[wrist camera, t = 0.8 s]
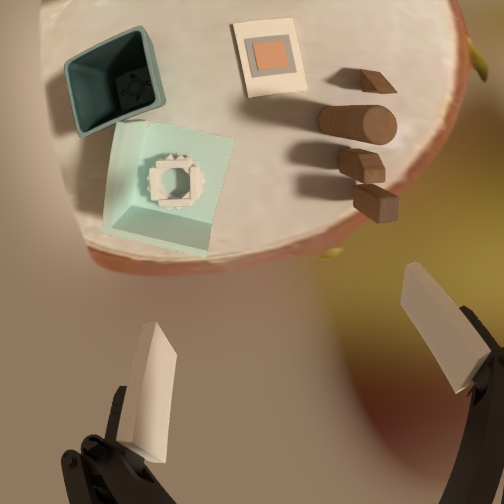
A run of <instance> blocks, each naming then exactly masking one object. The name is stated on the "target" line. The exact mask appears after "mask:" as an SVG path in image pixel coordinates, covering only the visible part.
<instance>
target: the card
mask: <svg viewBox="0 0 504 504" xmlns="http://www.w3.org/2000/svg"><path fill="white" fill-rule="evenodd" d="M233 27H234V32H235V36H236V41H237V45H238V50H239V55H240V59H241V64H242V69H243V74H244V78H245V83H246V88H247V93H248V98H252V97H258V96H265V95H272V94H280V93H289V92H299V91H307V85H306V80H305V74H304V69H303V64H302V59H301V55H300V50H299V45H298V41H297V37H296V32H295V28H294V24H293V20H292V18H284V19H269V20H259V21H250V22H242V23H235V24H233Z"/></svg>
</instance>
